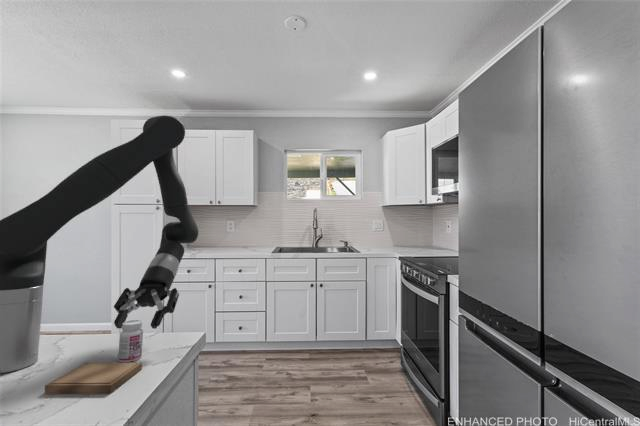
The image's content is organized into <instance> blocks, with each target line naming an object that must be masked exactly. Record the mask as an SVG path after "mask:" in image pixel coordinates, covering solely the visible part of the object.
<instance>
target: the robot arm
mask: <svg viewBox="0 0 640 426" xmlns="http://www.w3.org/2000/svg"><path fill="white" fill-rule="evenodd" d="M185 136H186V129H185V126H184V123H183V122H182V121H181V120H179V118H177V117H174V116H171V115H167V114H165V115H157V116H153V117H149V118H148V119H147V120H146V121H145V122H144V123H143V126H142V132H141V133H140V134H139V135H137V136H135V138H132V139H131V140H129V141H127V142H125V143H123V144H120V145H117V146H115V147H113V148H111V149H109V150H107V151H105V152H103V153H100V154H99V155H97V156H95V157H93V158H92V159H91V160H89V161H87V162H86V163H85V164H83V165H82V166H80V167H79V168H78V169H76V170H75V171H73V172H72V173H71V174H69V175H68V176H67V177H65V178H64V179H63V180H61V182H60V183H58V184H57V185H56V186H55V187H53V189H51V190H50V191H49V192H48V193H46V194H45V195H44V196H42V197H40V198H39V199H37V200H35V201H34V202H31V203H30V204H28V205H27V206H25V207H23V208H21V209H19V210H17V211H15V212H14V213H11V214H10V215H8V216H5V217H4V218H2V219H0V374H4V373H10V372H14V371H18V370H21V369H25V368H27V367H30V366H32V365H33V364H35V363H37V362H38V360H39V349H40V348H39V347H40V339H41V337H40V336H41V323H42V311H43V295H44V285H45V284H44V283H45V272H46V264H47V263H46V262H47V261H46V260H47V259H46V258H47V250H48V249H47V248H48V241H49V240H50V239H51V238H52V237H53V236H55V235H56V233H57V232H59V231H60V230H61V229H62V228H63V227H64V226H65V225H67V223H69V222H70V221H71V220H73V219H74V218H75V217H77V216H79V215H81V214H82V213H84V212H86V211H88V210H90V209H92V208H93V207H95V206H96V205H98V204H100V203H101V202H103V201H104V200H106V199H108V198H109V197H110V196H112V194H115V193H116V192H117V191H118V190H119V189H121V188H122V187H123V186H124V185H126V184H127V183H128V182H129V181H131V180H132V179H134V178H135V176H137V175H138V174H139V173H140V172H141V171H142V170H144V169H145V168H146V167H148V165H150V164H151V163H153V167H154V169H155V172H156V177H157V180H158V185H159V189H160V194H161V201H162V205H163V211H164V214H165V215H166V216H169V217H173V218H176V219H178V220H179V221H171V222H168V223H167V224H165V225H164V226H163V227H162V231H161V239H160V245H159V247H158V250H157V252H156V253H155V255H154V256H153V258H152V260H151V262H150V263H149V265H148V266H147V269H146V271H145V272H144V274H143V276H142V278H141V280H140V282H139V286H138V288H136V289H135V290H134V289H133V290H131V289H130V288H129V287H126V288H124V290H123V291H122V293H121V294H120V296H119V298H118V299H117V301H116V302H115V303H114V305H113V308H114V310H115V311H116V313H118V314H117V315H116V318H115V319H114V322H113V324H114V325H115V328H116V329H122V324H123V323H124V322H126V321H127V318H128V317H129V315H130V314H131V313H132V312H133V311H136V310H138V309H139V308H146V307H150V308H154V307H155V306H156V307H157V310H156V311H155V312H154V313H155V314H154V315H153V318H152V319H151V322H150V327H151V328H152V329H153V330H154V329H157V328H158V327H160V325H161V323H162V321H163V319H164V316H165V315H166V314H172V313H174V312H175V309H176V306H177V302H178V301H179V300H178V299H179V297H180V294H179V291H178V289H177V288H176V287H173V288H172V289H171V287H172V284H173V282H174V280H175V278H176V276H177V274H178V271H179V266H180V263H181V261H182V259H183V257H184V255H185V247H184V246H183V244H192V243H194V242H196V240H197V239H198V237H199V227H198V225H197V223H196V220H195V219H194V217H193V215H192V212H191V210H190V208H189V204H188V203H189V202H188V197H187V192H186V187H185V185H184V182H183V180H182V177H181V175H180V172H179V170H178V168H177V165H176V162H175V159H174V152H173V151H174V150H173V149H175V148H177V147H179V145H181V144H182V143H183V141H184V139H185ZM167 297H168V300H167V302H166V305H164V304H163V301H164V300H165V299H166V298H167ZM135 302H136V304H135Z"/></svg>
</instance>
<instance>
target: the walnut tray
mask: <svg viewBox="0 0 640 426" xmlns="http://www.w3.org/2000/svg"><path fill="white" fill-rule="evenodd" d="M142 365H143V363H142V362H84V363H82V364H81V365H79V366H77V367H75V368H74V369H72V370H70V371H69V372H66V373H64V374H63V375H61V376H59V377H57V378H55V379H54V380H53V381H50V382H49V383H47V384H45V385H44V392H43V393H44V395H48V394H49V395H59V394H60V395H63V394H65V395H84V394H85V395H87V394H88V395H90V394H91V395H95V394H96V395H97V394H98V395H102V394H103V395H104V394H106V395H107V394H109V395H110V394H113V393H114V392H116V390H118V389H119V388H120V387H122V385H124V384H125V383H127V382H128V381H129V380H130V379H132V378H133V377H134V376H135V375H136V374H138V373H139V372H140V371H142V368H143V366H142Z"/></svg>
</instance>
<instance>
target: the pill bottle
mask: <svg viewBox="0 0 640 426" xmlns="http://www.w3.org/2000/svg"><path fill="white" fill-rule="evenodd" d="M142 327H143V321H142V320H140V319H138V320H137V319H134V320H128V321H127V320H126V321H125V322H124V323H123V324H122V328H121V332H120V333H119V340H118V341H119V342H118V353H117V354H118V355H117V360H118V362H119V363H133V362H136V361H137V360H140V359H141V358H142V355H143V338H144V330H143V329H142Z"/></svg>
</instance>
